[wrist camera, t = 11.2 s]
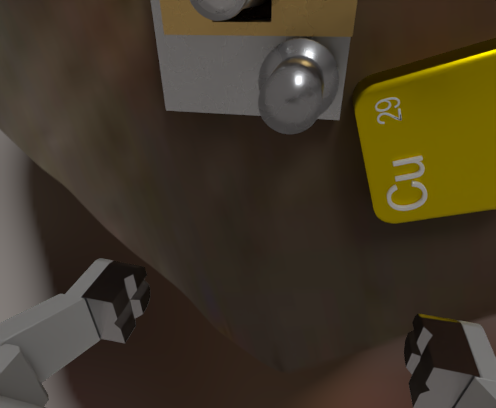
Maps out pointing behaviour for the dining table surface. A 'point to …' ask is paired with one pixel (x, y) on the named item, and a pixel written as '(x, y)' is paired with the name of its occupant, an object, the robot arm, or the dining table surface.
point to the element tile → (430, 135)
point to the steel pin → (223, 7)
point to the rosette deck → (257, 61)
